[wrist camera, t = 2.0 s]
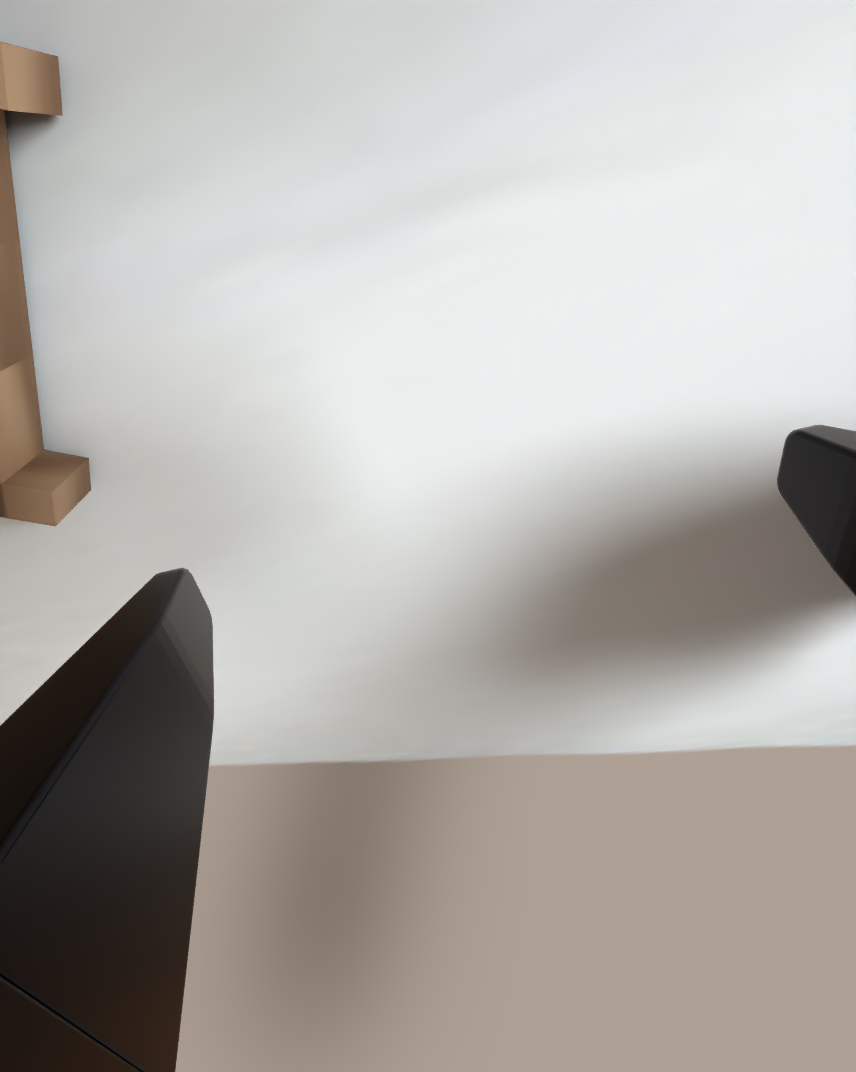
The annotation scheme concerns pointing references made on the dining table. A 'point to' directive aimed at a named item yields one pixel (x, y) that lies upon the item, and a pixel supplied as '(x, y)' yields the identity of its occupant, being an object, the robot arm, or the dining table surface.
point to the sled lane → (26, 325)
